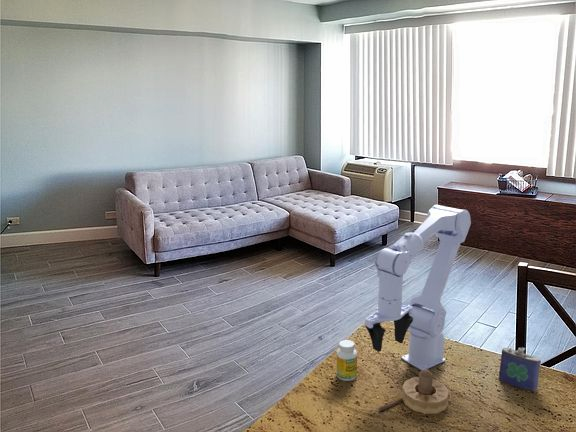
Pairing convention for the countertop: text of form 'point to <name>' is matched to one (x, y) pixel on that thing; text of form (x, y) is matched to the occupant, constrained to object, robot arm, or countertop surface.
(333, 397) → the countertop surface
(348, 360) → the supplement bottle
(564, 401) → the countertop surface
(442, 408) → the wooden ring with handle
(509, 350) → the flask
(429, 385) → the brown rounded cylinder
